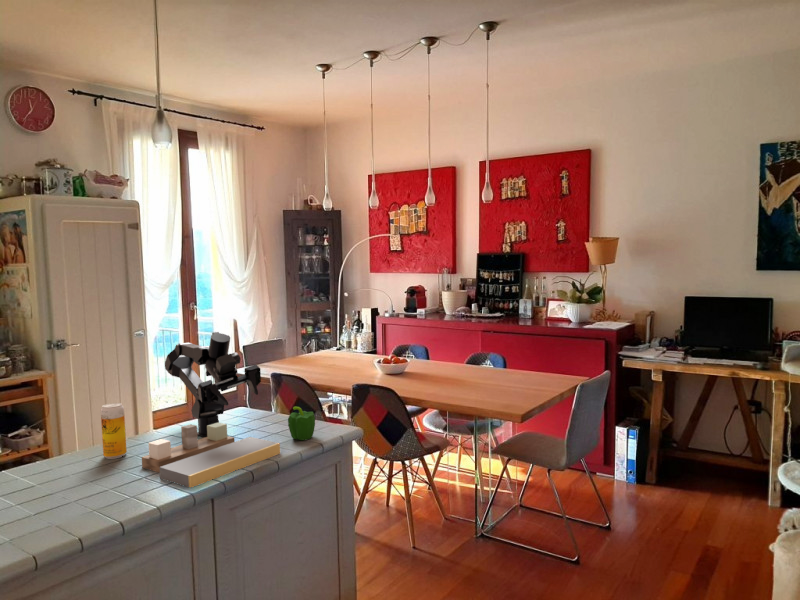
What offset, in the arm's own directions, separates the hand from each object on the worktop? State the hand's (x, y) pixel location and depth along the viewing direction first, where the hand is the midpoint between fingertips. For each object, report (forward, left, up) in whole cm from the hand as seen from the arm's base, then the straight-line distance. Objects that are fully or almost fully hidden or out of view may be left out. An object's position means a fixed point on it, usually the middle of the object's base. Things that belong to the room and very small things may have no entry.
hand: (242, 398), depth 174 cm
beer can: (-30, -22, -16) cm, 41 cm away
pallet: (-10, -11, -16) cm, 22 cm away
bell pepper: (+6, +18, -16) cm, 25 cm away
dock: (+4, -11, -16) cm, 19 cm away
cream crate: (-10, -21, -13) cm, 26 cm away
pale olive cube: (-10, -2, -13) cm, 17 cm away
